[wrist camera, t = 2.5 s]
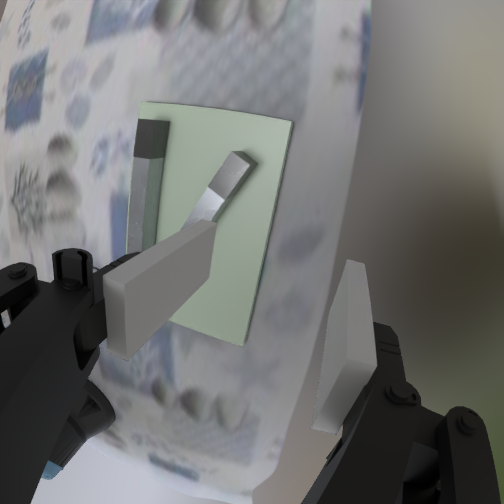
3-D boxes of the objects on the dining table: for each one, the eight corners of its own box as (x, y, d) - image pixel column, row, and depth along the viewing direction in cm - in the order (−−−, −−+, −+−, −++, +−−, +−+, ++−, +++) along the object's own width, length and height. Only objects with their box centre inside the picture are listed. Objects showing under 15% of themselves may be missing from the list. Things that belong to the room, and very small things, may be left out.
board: (130, 299, 41) (125, 302, 40) (146, 102, 32) (140, 102, 31) (245, 341, 38) (242, 347, 37) (293, 122, 29) (291, 121, 27)
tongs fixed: (138, 306, 40) (122, 319, 36) (153, 119, 31) (133, 118, 27) (168, 318, 39) (153, 333, 35) (190, 123, 30) (172, 122, 27)
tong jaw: (161, 272, 37) (148, 281, 34) (241, 150, 29) (231, 151, 27) (174, 283, 36) (162, 293, 34) (258, 163, 29) (249, 165, 27)
